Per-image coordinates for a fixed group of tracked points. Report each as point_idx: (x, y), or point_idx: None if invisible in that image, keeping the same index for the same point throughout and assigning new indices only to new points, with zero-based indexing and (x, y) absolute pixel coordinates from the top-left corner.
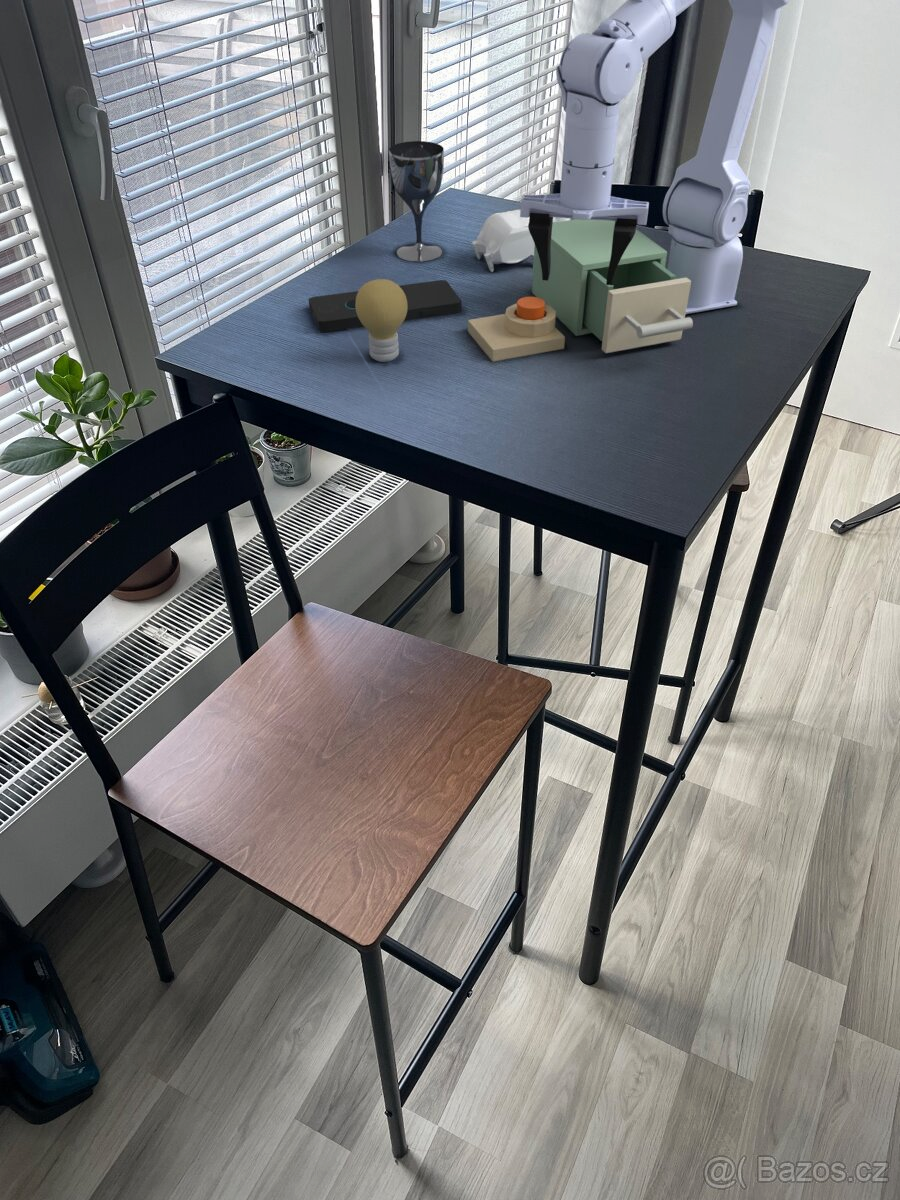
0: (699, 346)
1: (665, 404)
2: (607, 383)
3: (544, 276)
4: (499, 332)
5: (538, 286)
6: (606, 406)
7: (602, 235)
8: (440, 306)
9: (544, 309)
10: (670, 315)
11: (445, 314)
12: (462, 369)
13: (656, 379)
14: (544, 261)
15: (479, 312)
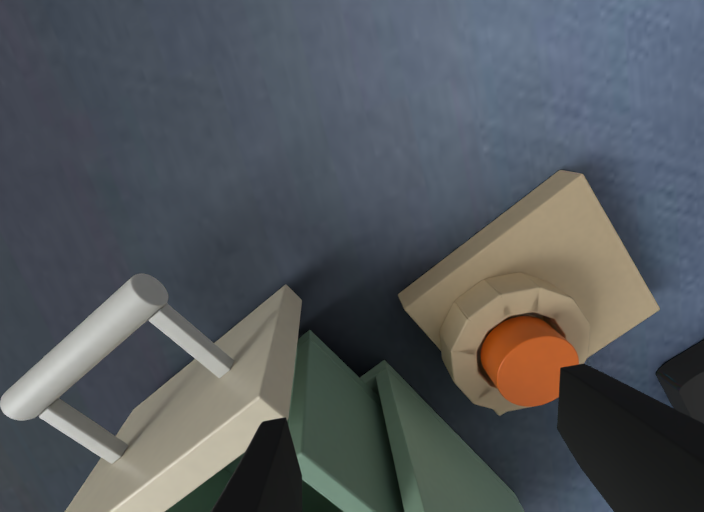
0: (99, 410)
1: (50, 94)
2: (244, 160)
3: (592, 373)
4: (575, 274)
5: (511, 502)
6: (203, 20)
7: None
8: None
9: (489, 366)
10: (126, 443)
11: (692, 349)
12: (633, 102)
13: (130, 226)
14: (673, 424)
15: None
